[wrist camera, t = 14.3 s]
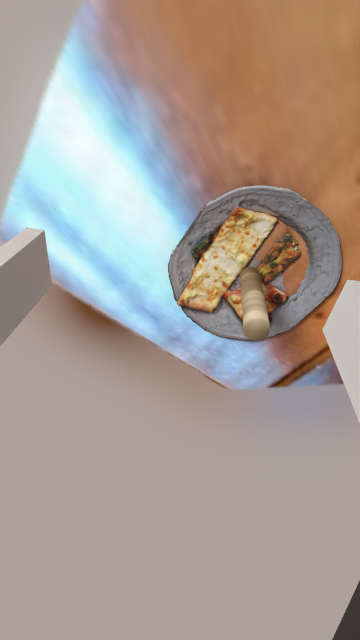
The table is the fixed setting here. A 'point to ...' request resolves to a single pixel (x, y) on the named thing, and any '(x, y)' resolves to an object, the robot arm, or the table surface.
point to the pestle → (253, 305)
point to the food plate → (239, 249)
